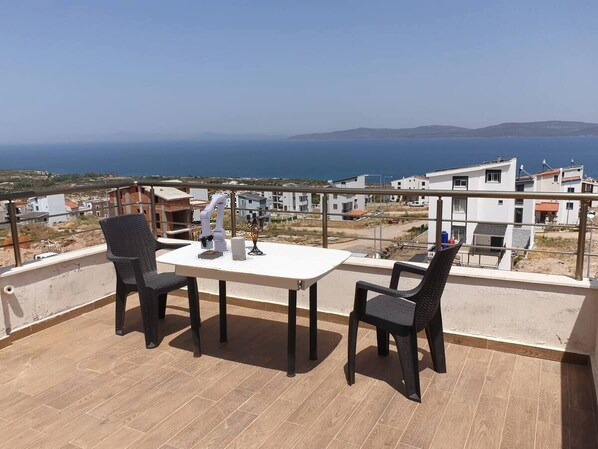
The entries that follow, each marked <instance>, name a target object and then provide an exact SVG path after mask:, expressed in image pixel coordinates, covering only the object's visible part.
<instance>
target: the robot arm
mask: <svg viewBox="0 0 598 449" xmlns="http://www.w3.org/2000/svg"><path fill="white" fill-rule="evenodd" d="M226 206H227V196H226V194H225V193H224V194H212V196H211V200H210V202H209V204H207V205H206V206H205V208H204V209H203V210H202V211H200V213H199V218H200V222H201V232H202V233H201V234H200V235H198V238H199V240H200V243H201V242H202V244H203V247H206V242H207V241H213V249H214V250H216V251H218V252H223V253H224V252H228V251H229V250H228V248H227V247H228V246H227V241H226V237H227V236H226V235H227V234H226V230H225V229H224V228H223V227H224V226H223V225H224V224H223V223H224V213H225V207H226ZM215 207H217V212H216V213H217V214H216V218H215V219H216V220H215V221H216V222H215V227H214V228H213V229H212V231H211V221H210V219H211V218H212V214H213V211H214V210H215Z"/></svg>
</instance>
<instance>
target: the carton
mask: <svg viewBox="0 0 598 449" xmlns="http://www.w3.org/2000/svg"><path fill="white" fill-rule="evenodd" d="M200 249H201V250H213V249H214V241H213V240H212V241H208V240H207V242H206V247H203V244H202V242H201V241H200Z"/></svg>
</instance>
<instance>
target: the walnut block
mask: <svg viewBox="0 0 598 449" xmlns="http://www.w3.org/2000/svg"><path fill="white" fill-rule="evenodd" d="M201 253H202V255H211V256H212V255H215V254H217V253H218V251H216V250H215V249H214V250H213V249H207V250H204V251H202V252H201Z"/></svg>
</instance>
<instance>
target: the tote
mask: <svg viewBox="0 0 598 449" xmlns="http://www.w3.org/2000/svg"><path fill="white" fill-rule="evenodd" d="M223 256H224V251H223V252H218V253H217V254H215V255H212V256H211V255H202V252H201V253H198V254H197V259H200V258H201V259H202V260H211V261H213V260H215V259H217V258H221V257H223Z"/></svg>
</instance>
